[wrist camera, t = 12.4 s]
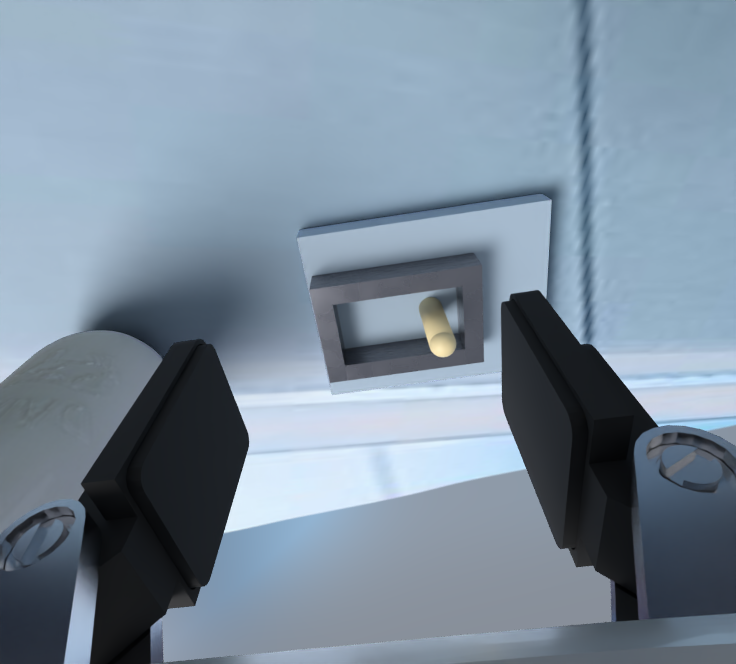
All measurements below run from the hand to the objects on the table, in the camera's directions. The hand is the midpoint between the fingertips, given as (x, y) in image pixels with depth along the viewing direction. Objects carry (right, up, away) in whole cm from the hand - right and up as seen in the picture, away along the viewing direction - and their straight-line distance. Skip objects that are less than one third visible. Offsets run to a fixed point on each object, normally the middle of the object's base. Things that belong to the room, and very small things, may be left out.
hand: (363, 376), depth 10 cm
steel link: (+2, +2, +26) cm, 26 cm away
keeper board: (+5, +4, +27) cm, 28 cm away
